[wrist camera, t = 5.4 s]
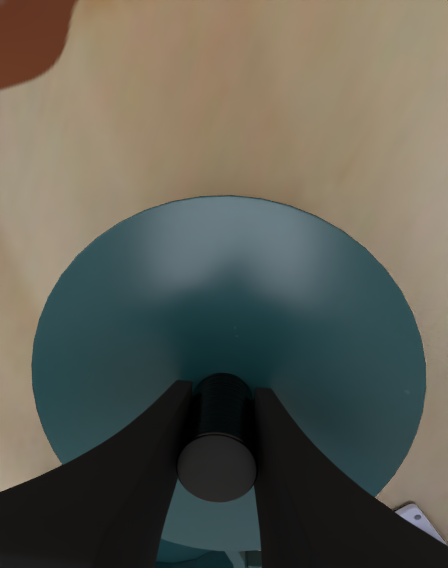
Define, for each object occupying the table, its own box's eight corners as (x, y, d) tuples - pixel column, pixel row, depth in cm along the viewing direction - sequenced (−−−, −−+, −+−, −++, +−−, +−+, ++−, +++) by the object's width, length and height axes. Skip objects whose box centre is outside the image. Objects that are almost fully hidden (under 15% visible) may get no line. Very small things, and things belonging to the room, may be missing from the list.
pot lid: (378, 538, 14) (442, 682, 10) (63, 514, 14) (-10, 638, 10) (444, 204, 10) (587, 193, 6) (30, 190, 11) (-102, 171, 7)
